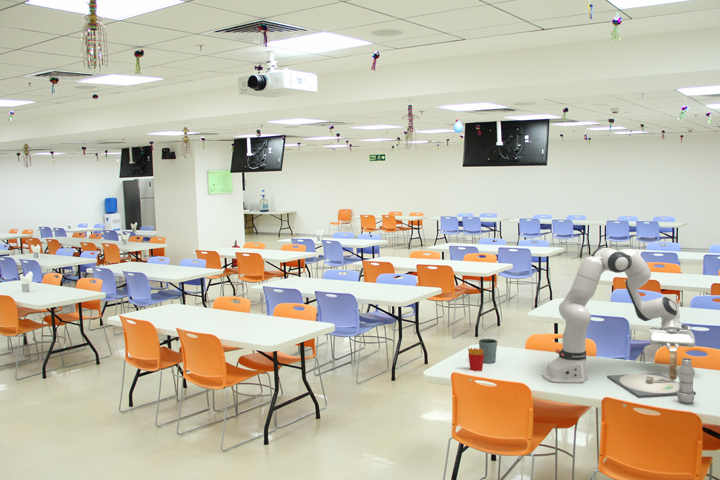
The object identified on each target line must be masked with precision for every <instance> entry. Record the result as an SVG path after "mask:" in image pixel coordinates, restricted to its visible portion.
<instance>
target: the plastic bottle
mask: <svg viewBox="0 0 720 480" xmlns="http://www.w3.org/2000/svg"><path fill="white" fill-rule="evenodd" d="M692 360H693V359H691V358H688V357H682V358H681V365H680V366H679V367H677V375H678V383H679V390H678V394H677V396H676V397H677V401H679V402H680V403H684V404H692V403H694V401H695V395H694V393H693V391H694V379H695V368H694V367H693V366H692Z"/></svg>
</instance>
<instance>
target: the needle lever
mask: <svg viewBox="0 0 720 480" xmlns="http://www.w3.org/2000/svg"><path fill="white" fill-rule="evenodd" d="M677 361H678V353H677V351H676V352H669V374H668V375H669V376H668V378H667V379H653V378H652V377H646V382H647V383H653V382H657V381H676V380H677V373H678V363H677Z"/></svg>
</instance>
